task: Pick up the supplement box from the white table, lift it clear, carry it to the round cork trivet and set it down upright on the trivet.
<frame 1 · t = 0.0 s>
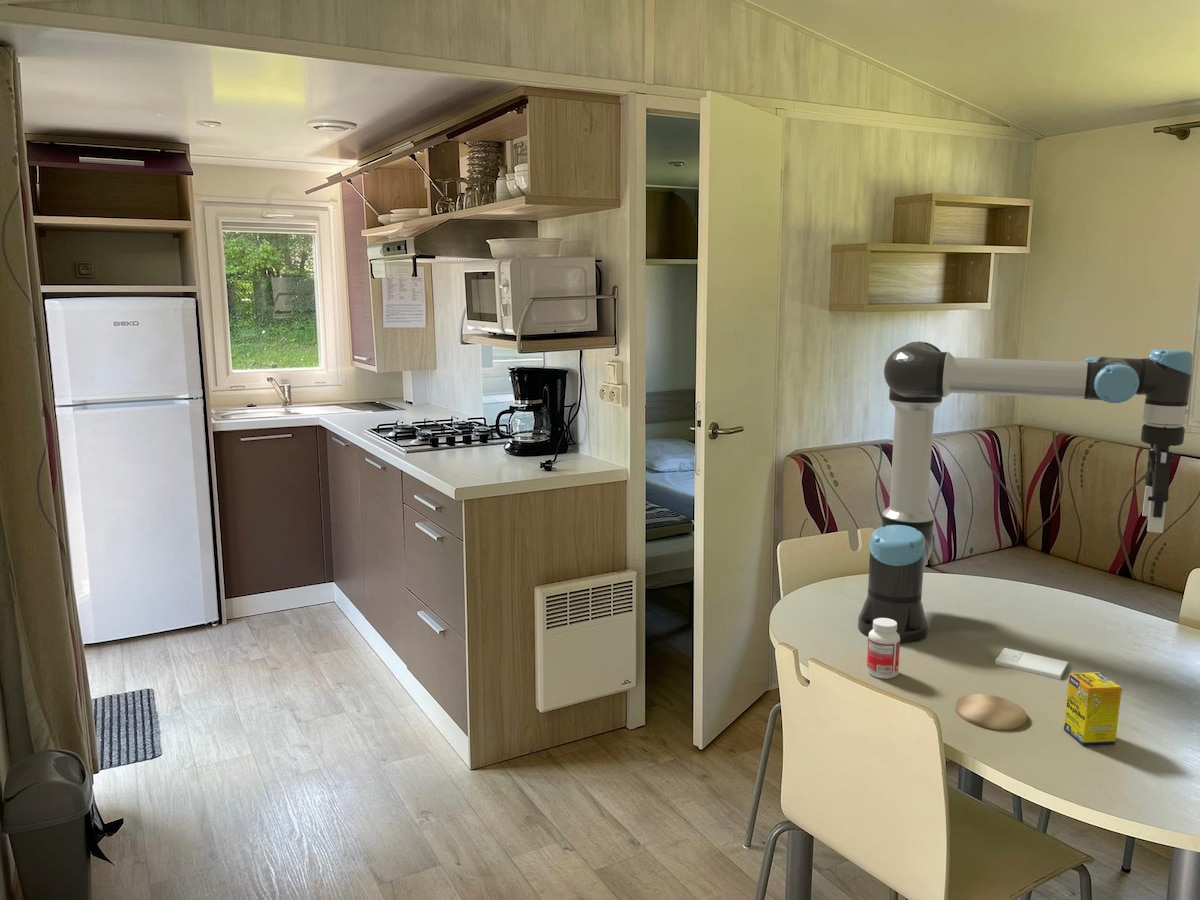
hand: (1152, 524, 188), 28 cm above the table, fingers open, 13 cm apart
external hard drive: (1031, 668, 186), on the table
pill bottle: (882, 673, 182), on the table
supplement box: (1088, 738, 157), on the table
trivet: (990, 713, 165), on the table
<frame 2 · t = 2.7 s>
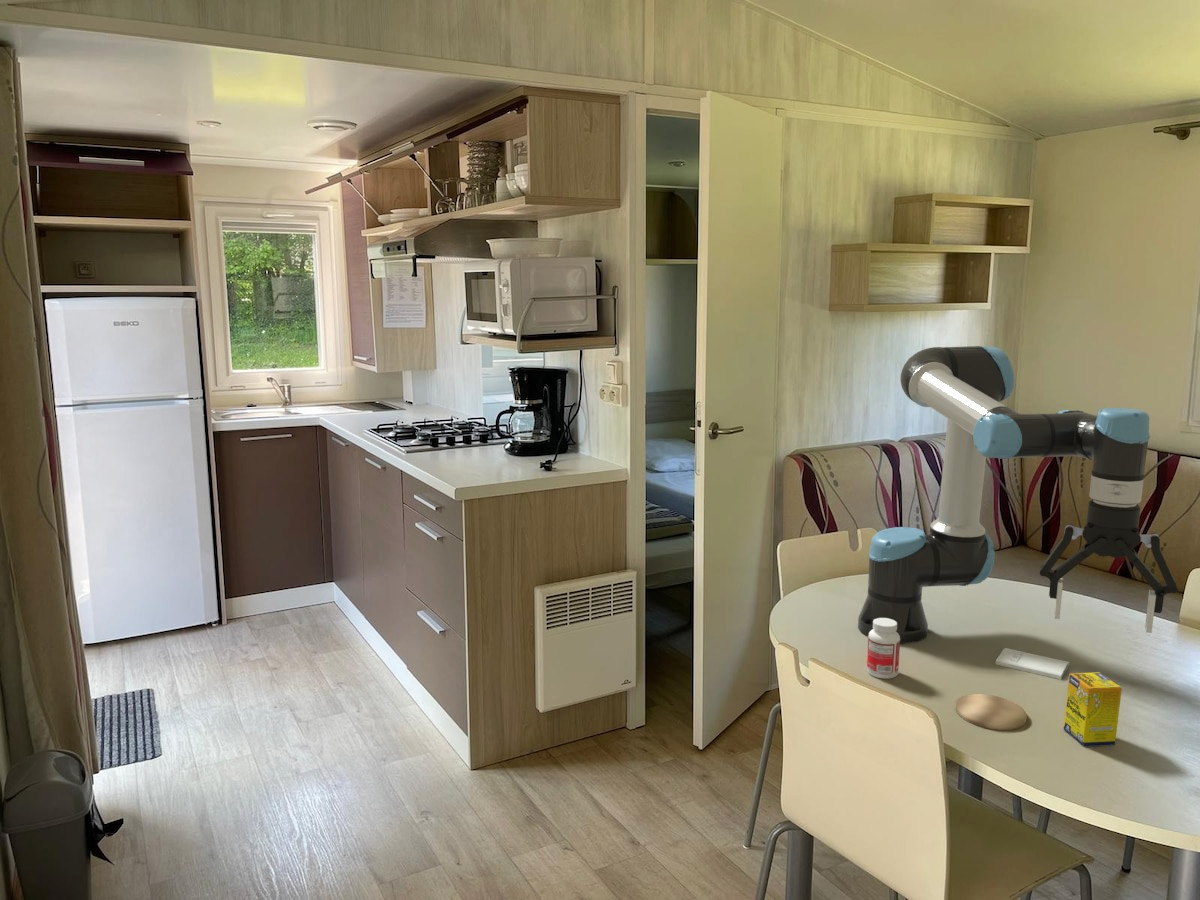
hand: (1101, 623, 152), 21 cm above the table, fingers open, 13 cm apart
nothing on the table moved.
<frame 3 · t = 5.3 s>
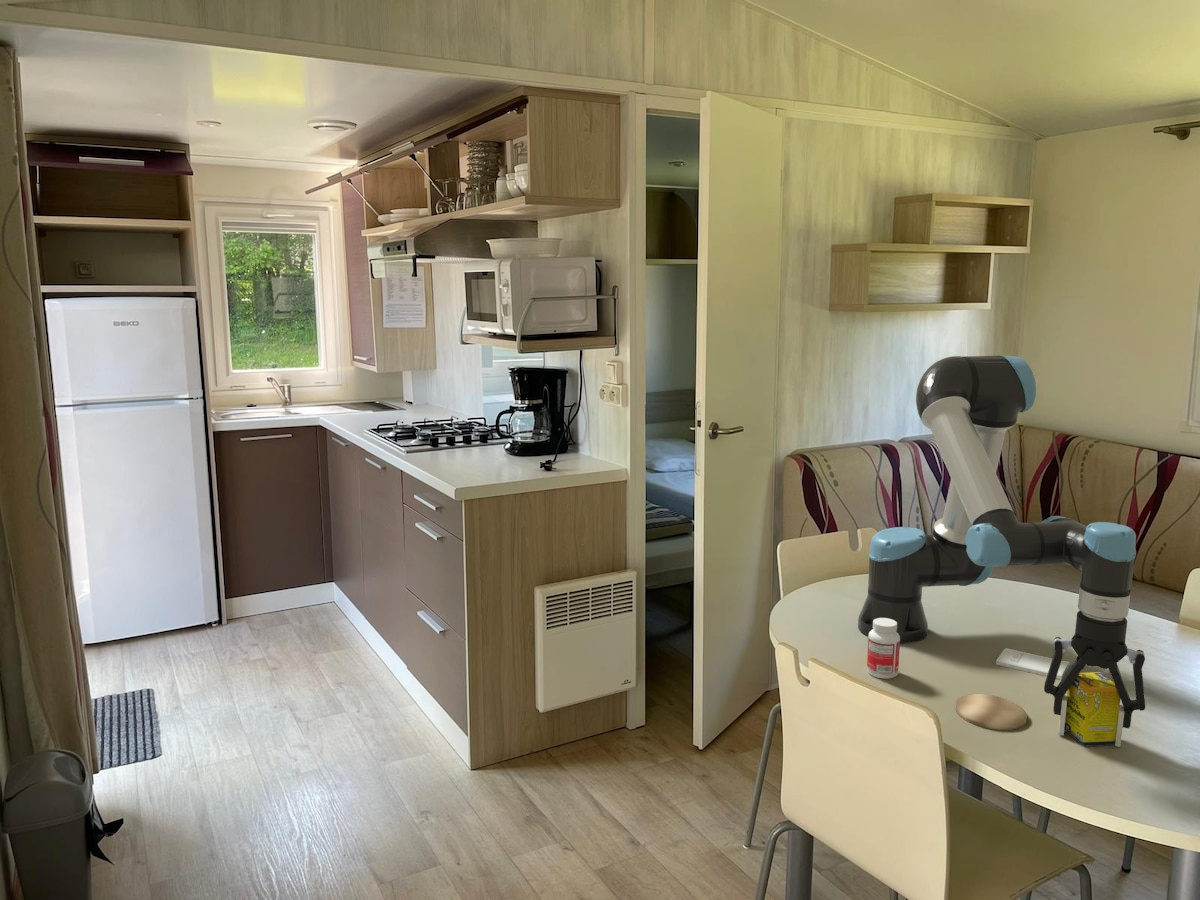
hand: (1088, 737, 156), 0 cm above the table, fingers closed on supplement box, 8 cm apart
supplement box: (1088, 738, 157), on the table, touching gripper
everything else where it was.
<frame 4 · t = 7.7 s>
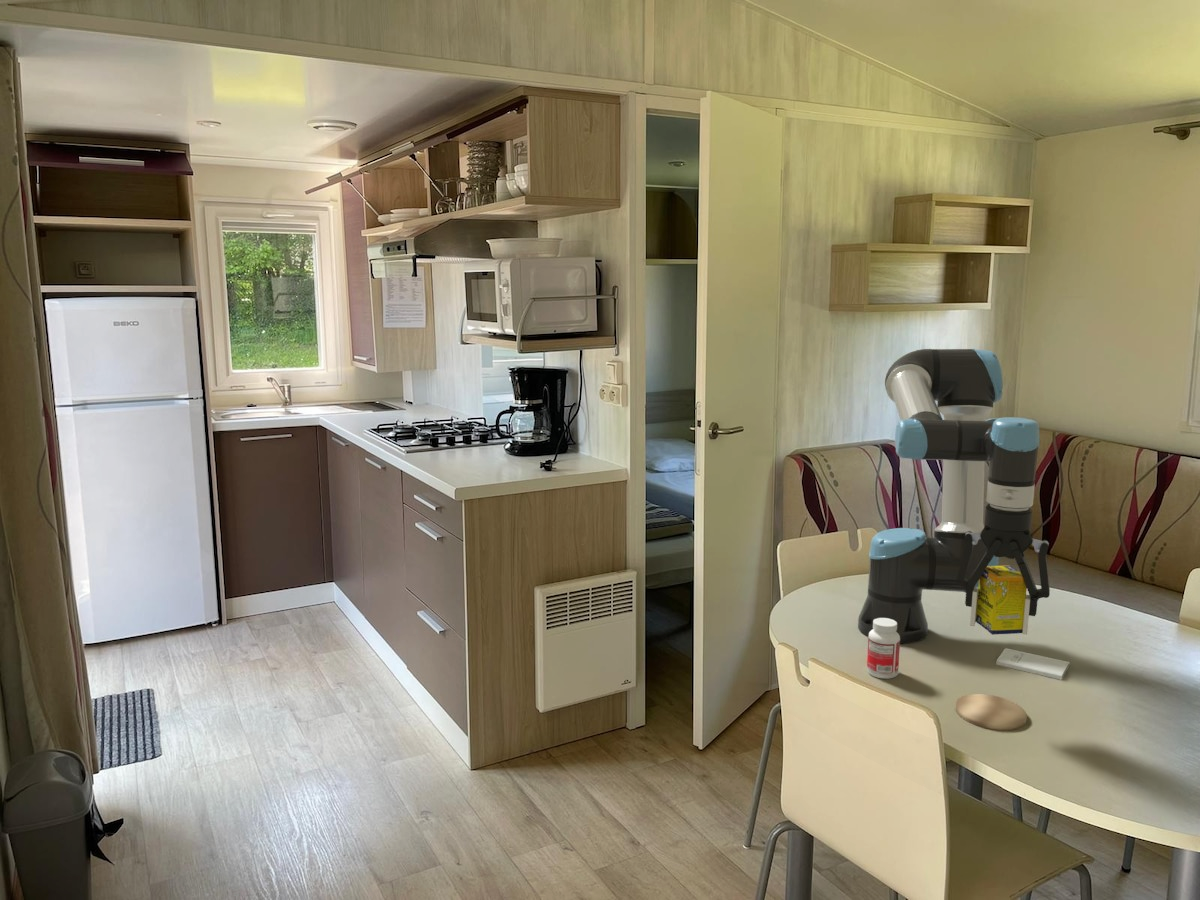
hand: (998, 627, 162), 17 cm above the table, fingers closed on supplement box, 8 cm apart
supplement box: (998, 629, 162), point 16 cm above the table, touching gripper
everything else where it was.
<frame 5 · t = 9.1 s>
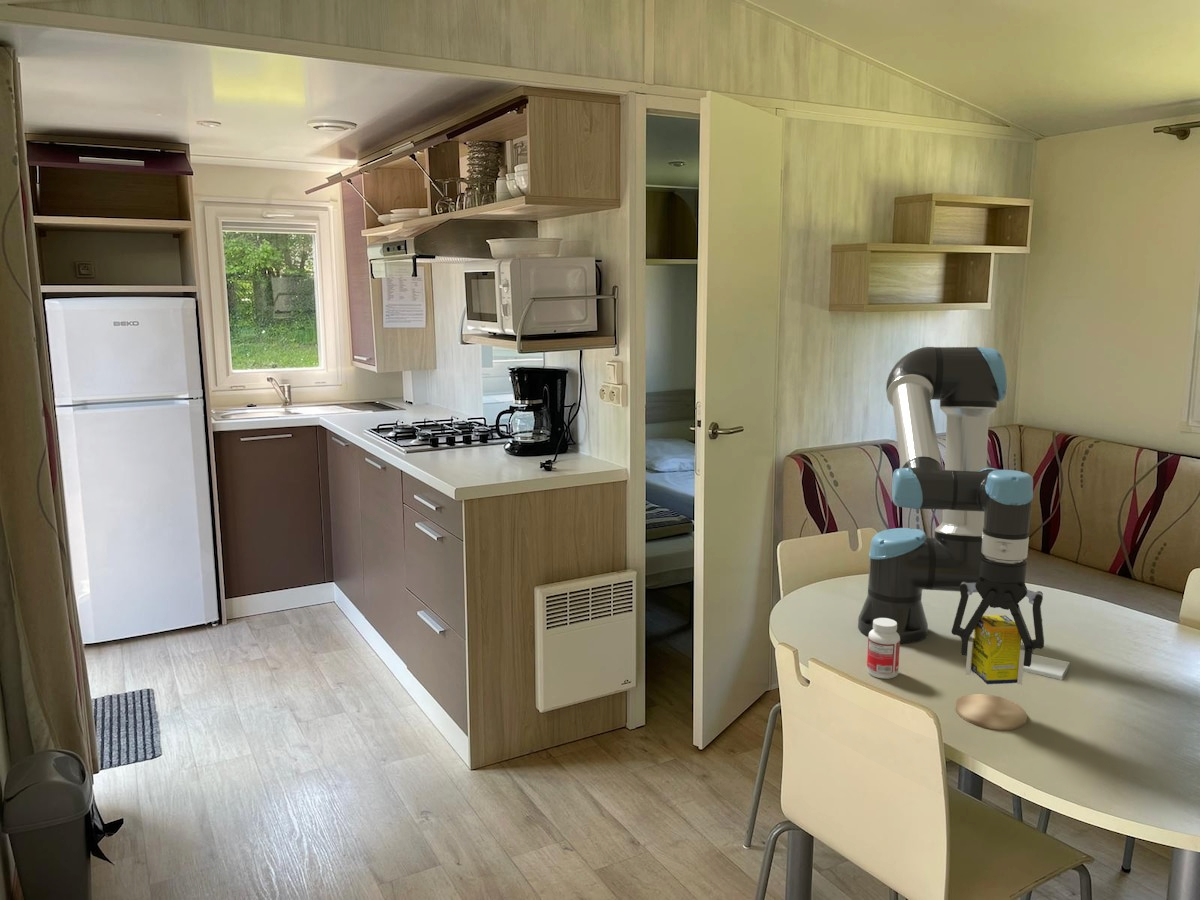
hand: (993, 676, 163), 7 cm above the table, fingers closed on supplement box, 8 cm apart
supplement box: (993, 678, 164), point 7 cm above the table, touching gripper
everything else where it was.
when the fingers open (3 cm above the table, at t = 10.3 s): supplement box drops 1 cm, resting on trivet.
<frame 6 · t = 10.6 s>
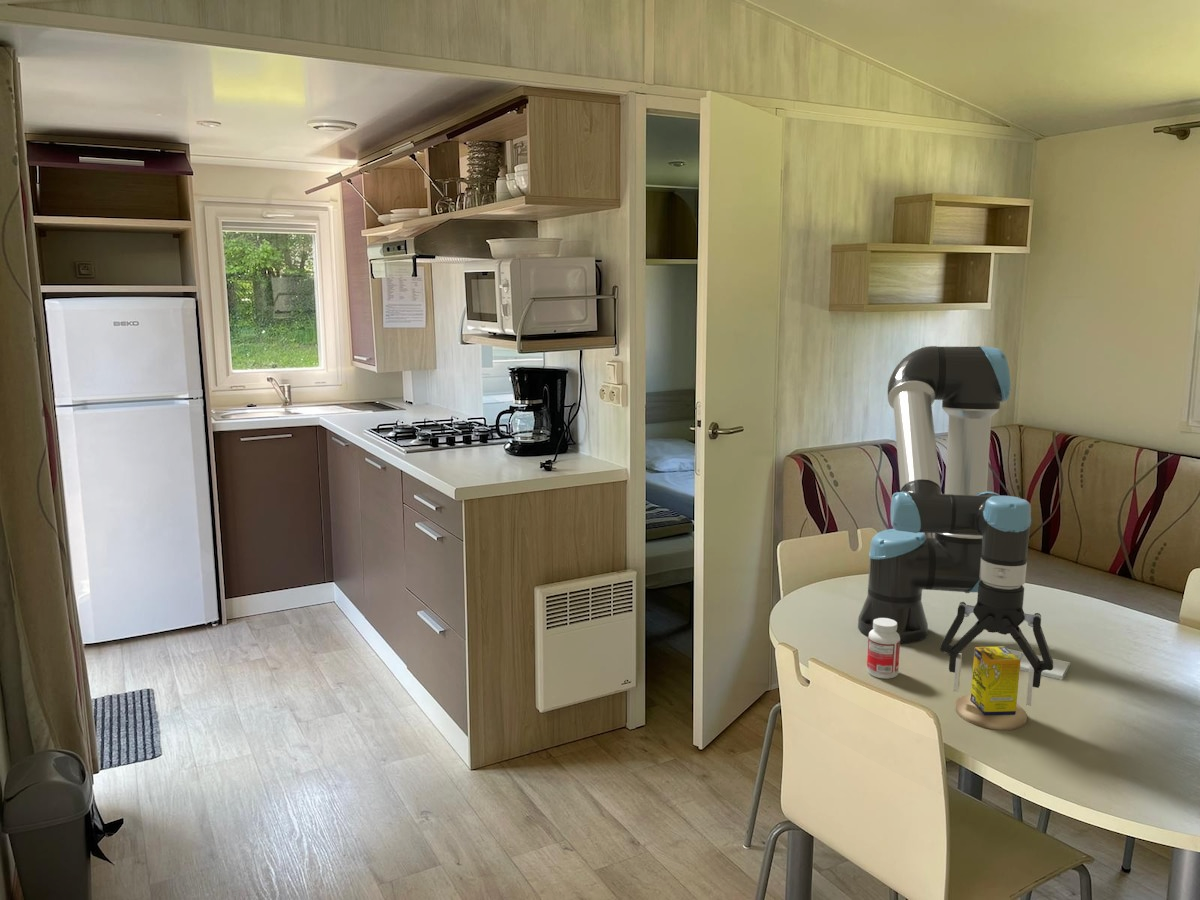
hand: (991, 695, 164), 4 cm above the table, fingers open, 11 cm apart
supplement box: (992, 709, 165), point 1 cm above the table, touching trivet
everything else where it was.
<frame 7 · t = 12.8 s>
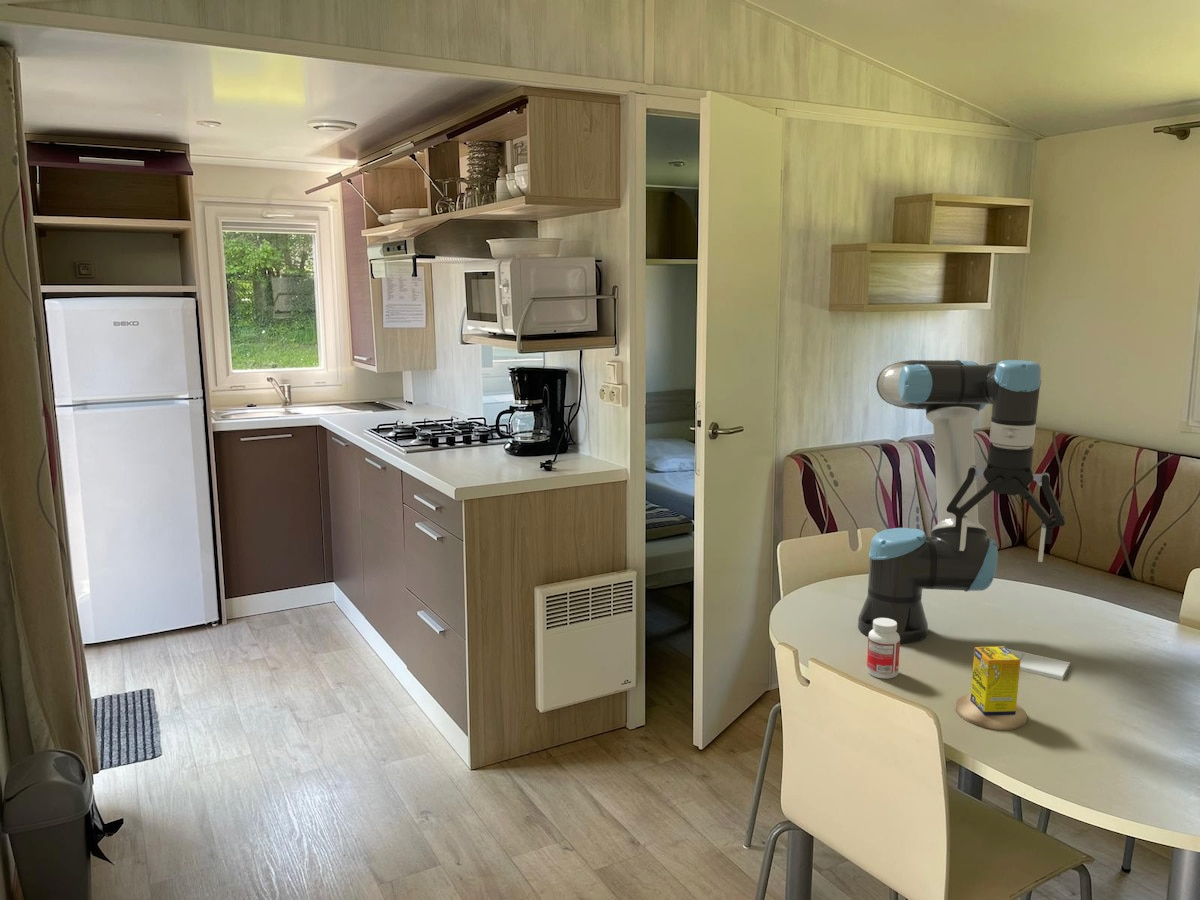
hand: (1000, 554, 169), 28 cm above the table, fingers open, 13 cm apart
nothing on the table moved.
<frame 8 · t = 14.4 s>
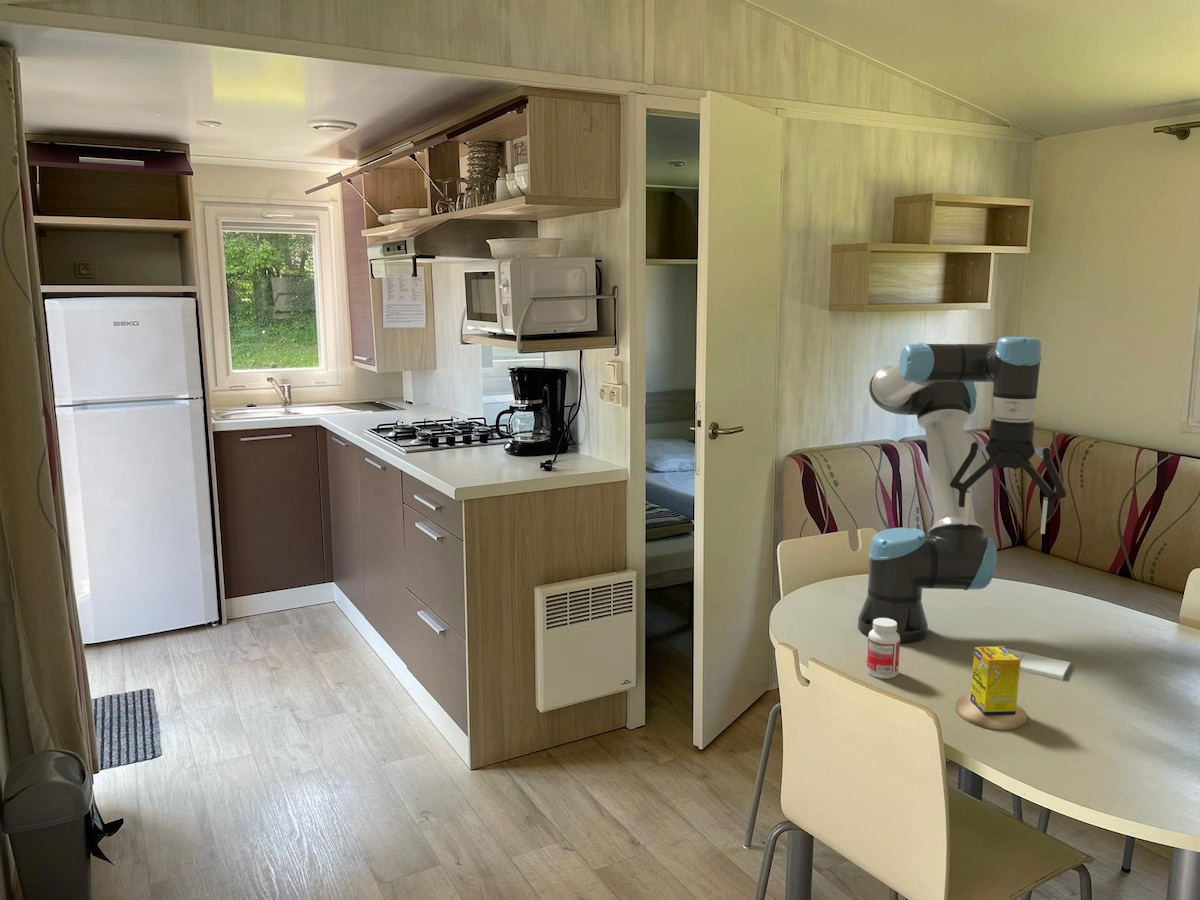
hand: (1003, 527, 173), 32 cm above the table, fingers open, 13 cm apart
nothing on the table moved.
at the end: supplement box 0.5 cm from the trivet (horizontally); supplement box tilted 0°; the gripper is holding nothing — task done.
